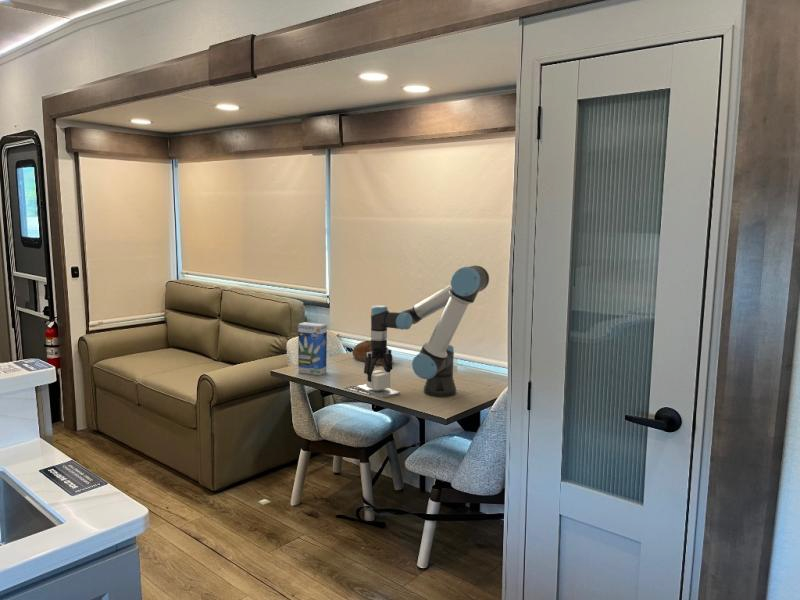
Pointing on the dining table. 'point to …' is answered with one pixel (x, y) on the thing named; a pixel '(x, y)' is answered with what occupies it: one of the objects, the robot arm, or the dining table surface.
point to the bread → (364, 352)
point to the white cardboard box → (380, 380)
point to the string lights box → (312, 348)
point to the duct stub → (379, 391)
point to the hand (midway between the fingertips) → (378, 386)
